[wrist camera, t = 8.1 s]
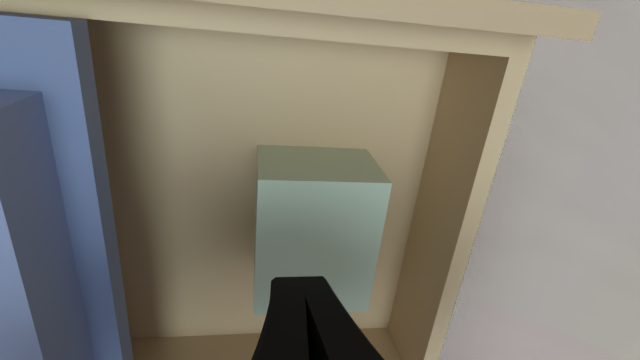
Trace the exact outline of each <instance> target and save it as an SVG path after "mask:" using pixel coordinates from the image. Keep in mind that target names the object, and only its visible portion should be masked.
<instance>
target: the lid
mask: <svg viewBox="0 0 640 360" xmlns="http://www.w3.org/2000/svg"><path fill="white" fill-rule="evenodd" d="M0 360H134V359H133V352H132V344H131V337H130V330H129V323H128V315H127V308H126V301H125V293H124V286H123V279H122V272H121V264H120V257H119V250H118V243H117V235H116V228H115V221H114V214H113V206H112V199H111V192H110V185H109V177H108V170H107V163H106V156H105V148H104V141H103V134H102V127H101V119H100V112H99V105H98V98H97V90H96V83H95V76H94V69H93V61H92V54H91V47H90V39H89V32H88V25H87V20H86V19H74V18H63V17H52V16H41V15H30V14H19V13H8V12H0Z"/></svg>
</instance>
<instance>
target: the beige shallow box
mask: <svg viewBox="0 0 640 360" xmlns="http://www.w3.org/2000/svg"><path fill="white" fill-rule="evenodd" d="M0 12H8V13H19V14H30V15H41V16H52V17H63V18H74V19H86V20H87V25H88V32H89V39H90V47H91V54H92V61H93V69H94V76H95V83H96V90H97V98H98V105H99V112H100V119H101V127H102V134H103V141H104V148H105V156H106V163H107V170H108V177H109V185H110V192H111V199H112V206H113V214H114V221H115V228H116V235H117V243H118V250H119V257H120V264H121V272H122V279H123V286H124V293H125V301H126V308H127V315H128V323H129V330H130V337H131V344H132V352H133V359H134V360H251V359H252V356H253V354H254V351H255V349H256V346H257V343H258V340H259V337H260V334H261V331H262V328H263V324H264V321H265V318H266V315H253V295H254V239H255V208H256V177H257V145H276V146H301V147H325V148H349V149H367V150H368V152H369V153H370V154H371V156H372V157H373V158H374V160H375V161H376V162H377V164H378V165H379V166H380V168H381V169H382V170H383V172H384V173H385V174H386V176H387V177H388V178H389V180H390V181H391V182H392V187H391V192H390V198H389V203H388V208H387V213H386V219H385V224H384V229H383V235H382V240H381V245H380V250H379V256H378V261H377V266H376V272H375V277H374V282H373V287H372V293H371V298H370V303H369V309H368V311H364V312H348V313H349V315H350V316H351V317H352V319H353V320H354V322H355V323H356V324H357V326H358V327H359V328H360V329H361V331H362V332H363V333H364V335H365V336H366V337H367V339H368V340H369V341H370V343H371V344H372V345H373V346H374V347H375V349H376V350H377V351H378V352H379V354H380V355H381V356H382V357H383V358H384V359H385V360H438V359H439V356H440V353H441V349H442V346H443V343H444V339H445V336H446V333H447V330H448V326H449V323H450V320H451V316H452V313H453V310H454V307H455V303H456V300H457V297H458V293H459V290H460V287H461V284H462V280H463V277H464V274H465V270H466V267H467V264H468V261H469V257H470V254H471V251H472V248H473V244H474V241H475V238H476V234H477V231H478V228H479V225H480V221H481V218H482V215H483V211H484V208H485V205H486V202H487V198H488V195H489V192H490V188H491V185H492V182H493V179H494V175H495V172H496V169H497V165H498V162H499V159H500V156H501V152H502V149H503V146H504V143H505V139H506V136H507V133H508V129H509V126H510V123H511V120H512V116H513V113H514V110H515V106H516V103H517V100H518V97H519V93H520V90H521V87H522V83H523V80H524V77H525V74H526V70H527V67H528V64H529V60H530V57H531V54H532V51H533V47H534V44H535V41H536V37H537V36H543V37H552V38H562V39H572V40H581V41H591V42H592V39H593V36H594V33H595V31H596V28H597V25H598V22H599V19H600V17H601V14H602V11H594V10H586V9H577V8H569V7H561V6H552V5H544V4H536V3H527V2H519V1H510V0H0Z"/></svg>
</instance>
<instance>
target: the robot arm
mask: <svg viewBox="0 0 640 360" xmlns="http://www.w3.org/2000/svg"><path fill="white" fill-rule="evenodd" d="M251 360H385V359H384V358H383V357H382V356H381V355H380V354H379V352H378V351H377V350H376V349H375V347H374V346H373V345H372V344H371V343H370V341H369V340H368V339H367V337H366V336H365V335H364V333H363V332H362V331H361V329H360V328H359V327H358V326H357V324H356V323H355V322H354V320H353V319H352V317H351V316H350V315H349V313H348V312H347V310H346V309H345V307H344V306H343V305H342V303H341V302H340V300H339V299H338V297H337V296H336V294H335V293H334V291H333V289H332V288H331V286H330V285H329V283H328V281H327V280H326V279H325V278H324V277H323V276H303V277H275V278H274V279H273V280H271V288H270V301H269V306H268V310H267V314H266V318H265V321H264V324H263V328H262V331H261V334H260V337H259V340H258V343H257V346H256V349H255V351H254V354H253V356H252V359H251Z"/></svg>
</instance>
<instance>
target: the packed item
mask: <svg viewBox="0 0 640 360" xmlns="http://www.w3.org/2000/svg"><path fill="white" fill-rule="evenodd" d="M391 187H392V182H391V181H390V180H389V178H388V177H387V176H386V174H385V173H384V172H383V170H382V169H381V168H380V166H379V165H378V164H377V162H376V161H375V160H374V158H373V157H372V156H371V154H370V153H369V152H368V150H367V149H349V148H325V147H301V146H276V145H257V177H256V208H255V239H254V295H253V315H266V314H267V310H268V306H269V301H270V288H271V280H273V279H274V278H275V277H303V276H323V277H324V278H325V279H326V280H327V281H328V283H329V285H330V286H331V288H332V289H333V291H334V293H335V294H336V296H337V297H338V299H339V300H340V302H341V303H342V305H343V306H344V307H345V309H346V310H347V312H364V311H368V309H369V303H370V298H371V293H372V287H373V282H374V277H375V272H376V266H377V261H378V256H379V250H380V245H381V240H382V235H383V229H384V224H385V219H386V213H387V208H388V203H389V198H390V192H391Z"/></svg>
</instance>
